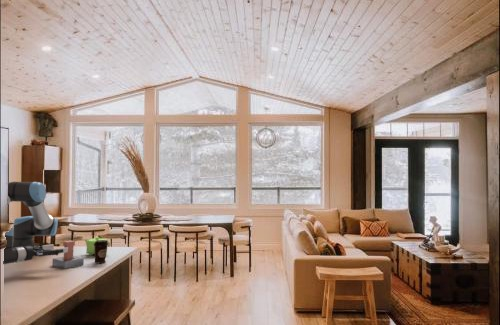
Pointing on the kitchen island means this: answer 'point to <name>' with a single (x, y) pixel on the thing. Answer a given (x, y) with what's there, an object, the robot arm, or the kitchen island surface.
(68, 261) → the grey square frame
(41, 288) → the kitchen island surface
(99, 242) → the coffee cup
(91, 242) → the kettle
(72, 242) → the wedge pin
